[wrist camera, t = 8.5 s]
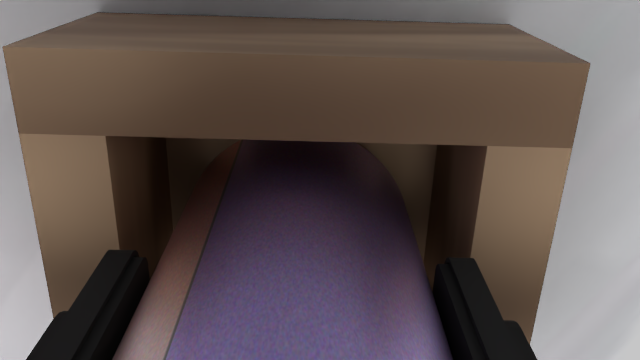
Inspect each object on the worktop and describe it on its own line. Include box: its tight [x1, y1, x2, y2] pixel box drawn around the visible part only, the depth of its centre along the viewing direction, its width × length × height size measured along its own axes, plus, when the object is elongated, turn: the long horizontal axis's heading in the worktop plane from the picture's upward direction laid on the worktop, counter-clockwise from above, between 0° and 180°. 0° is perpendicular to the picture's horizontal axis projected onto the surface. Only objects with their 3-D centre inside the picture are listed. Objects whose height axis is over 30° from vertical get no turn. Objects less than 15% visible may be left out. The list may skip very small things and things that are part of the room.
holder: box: [3, 12, 590, 345], centre depth 15 cm, size 11×11×5 cm
